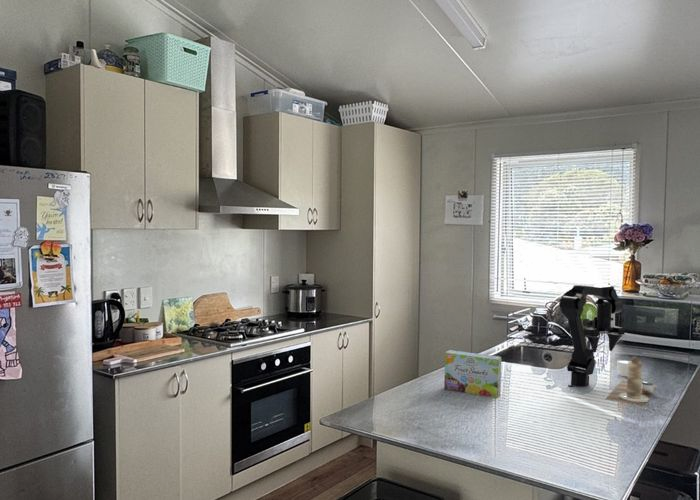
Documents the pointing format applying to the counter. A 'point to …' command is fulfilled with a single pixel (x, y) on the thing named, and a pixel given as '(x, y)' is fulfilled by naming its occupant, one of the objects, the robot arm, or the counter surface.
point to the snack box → (472, 373)
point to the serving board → (623, 389)
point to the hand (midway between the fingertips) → (602, 351)
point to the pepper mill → (634, 378)
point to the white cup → (622, 368)
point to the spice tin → (647, 387)
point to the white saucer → (641, 400)
